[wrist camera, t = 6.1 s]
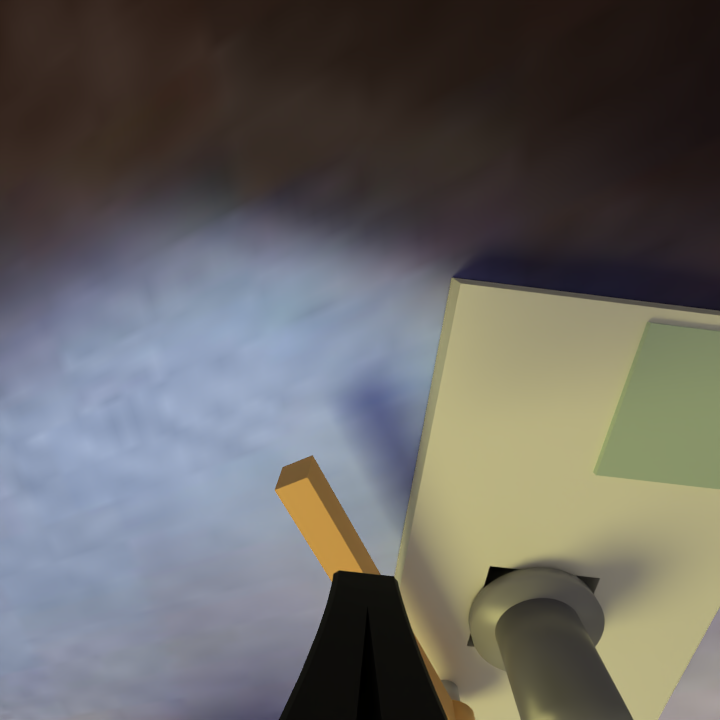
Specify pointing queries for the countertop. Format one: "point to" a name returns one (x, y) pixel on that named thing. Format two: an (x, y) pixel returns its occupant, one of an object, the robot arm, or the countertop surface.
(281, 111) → the countertop surface
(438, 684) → the tan wooden rod
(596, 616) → the plug
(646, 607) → the board
